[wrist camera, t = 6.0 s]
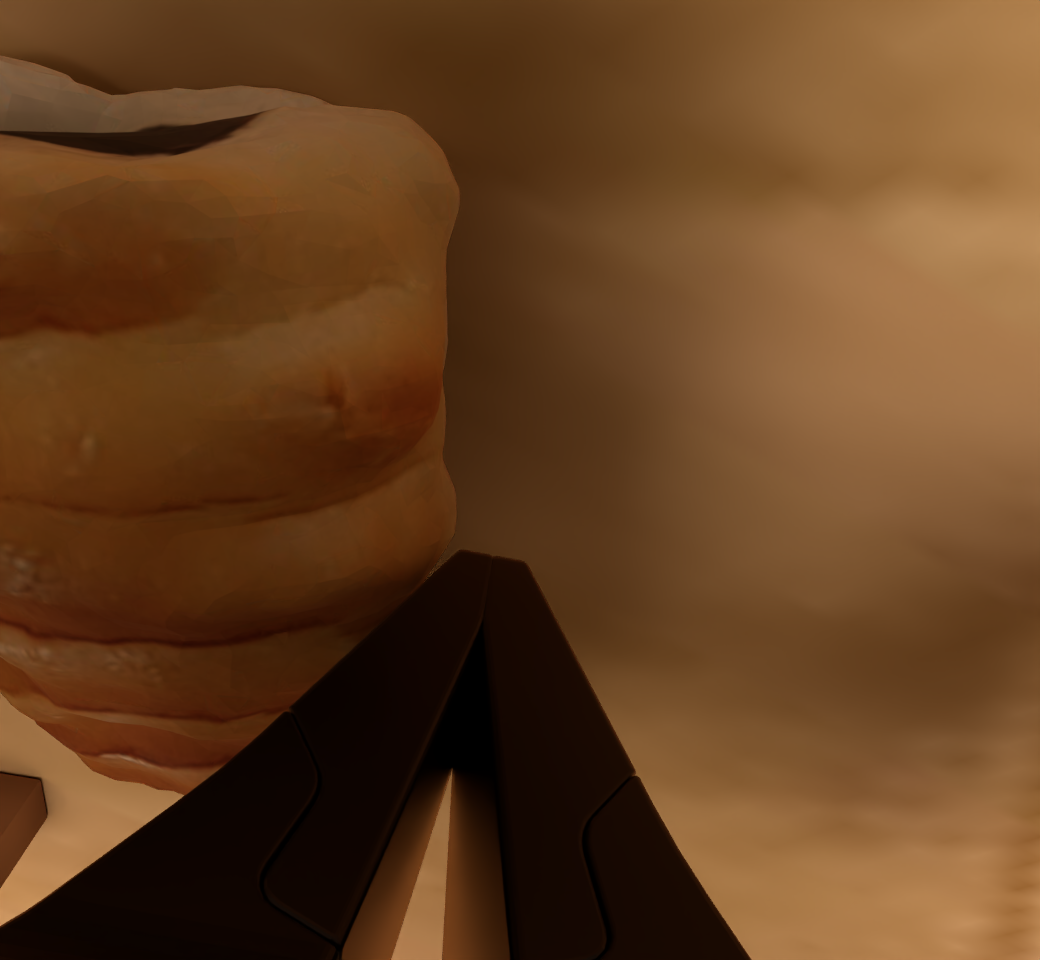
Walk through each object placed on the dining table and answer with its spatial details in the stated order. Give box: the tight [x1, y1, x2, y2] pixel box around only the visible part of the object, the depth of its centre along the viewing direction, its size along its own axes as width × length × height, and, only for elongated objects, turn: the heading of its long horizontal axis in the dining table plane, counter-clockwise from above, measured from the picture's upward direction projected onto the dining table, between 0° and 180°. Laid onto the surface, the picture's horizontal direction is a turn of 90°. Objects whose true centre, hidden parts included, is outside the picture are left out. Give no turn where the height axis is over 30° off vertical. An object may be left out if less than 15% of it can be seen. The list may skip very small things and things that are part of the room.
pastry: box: [0, 56, 460, 795], centre depth 9 cm, size 9×7×4 cm
